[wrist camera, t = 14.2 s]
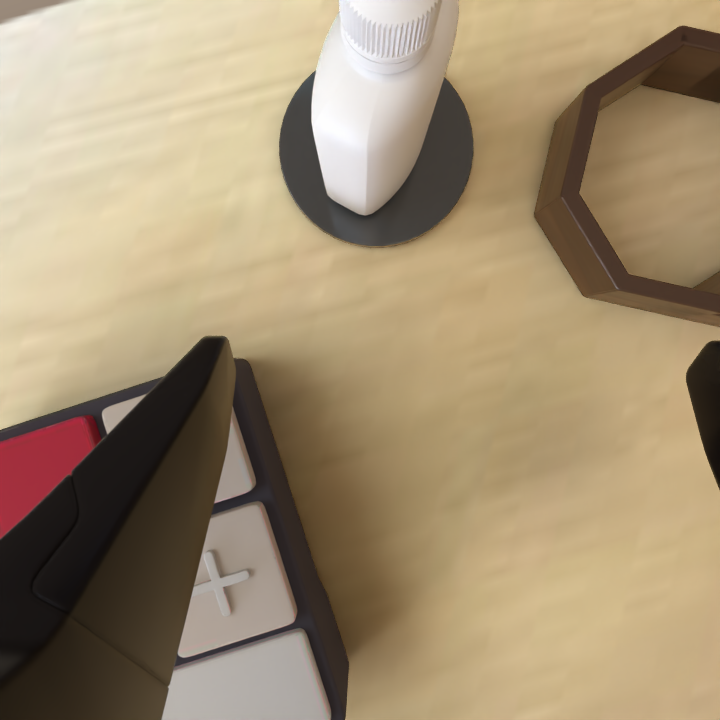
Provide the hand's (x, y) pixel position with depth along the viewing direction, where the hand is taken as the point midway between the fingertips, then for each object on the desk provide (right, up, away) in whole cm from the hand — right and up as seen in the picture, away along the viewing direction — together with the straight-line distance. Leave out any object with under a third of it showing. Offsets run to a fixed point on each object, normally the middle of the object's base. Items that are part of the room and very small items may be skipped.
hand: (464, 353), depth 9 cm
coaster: (-1, +9, +12) cm, 15 cm away
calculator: (-10, -9, +13) cm, 19 cm away
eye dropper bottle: (-1, +9, +12) cm, 15 cm away
